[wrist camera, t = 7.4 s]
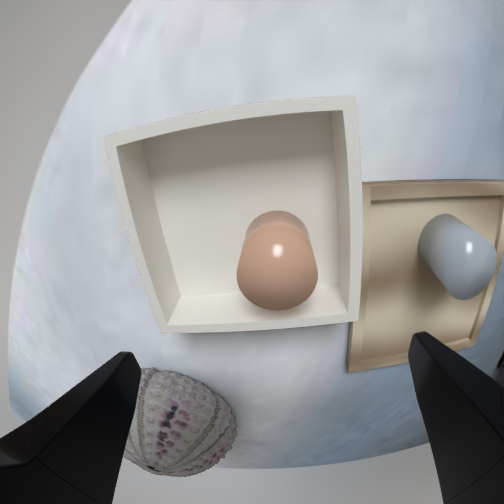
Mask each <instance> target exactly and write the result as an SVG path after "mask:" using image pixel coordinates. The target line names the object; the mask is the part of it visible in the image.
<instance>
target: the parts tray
mask: <svg viewBox="0 0 504 504" xmlns="http://www.w3.org/2000/svg"><path fill="white" fill-rule="evenodd" d="M362 203H363V244H362V275H361V293H360V307H359V319H358V321H352V322H350V328H349V340H348V351H347V361H346V364H347V369H348V372H355V371H362V370H368V369H374V368H380V367H386V366H391V365H396V364H402V363H406V362H409V360H408V350H409V347H410V343H411V339H412V336H413V334H414V333H417V332H422V331H426V332H428V333H429V334H431V335H432V336H433V337H435V338H436V339H438V340H439V341H441V342H442V343H443V344H445V345H446V346H448V347H449V348H451V349H452V350H453V351H457V350H460V349H464V348H467V347H471V346H474V345H475V343H476V340H477V338H478V335H479V332H480V330H481V327H482V324H483V322H484V319H485V316H486V313H487V310H488V307H489V304H490V301H491V298H492V294H493V291H494V287H495V284H496V280H497V276H498V273H499V269H500V264H501V260H502V256H503V251H504V180H485V179H431V180H396V181H375V182H362ZM440 214H451V215H453V216H455V217H456V218H458V219H459V220H461V221H462V222H463V223H465V224H466V225H468V226H469V227H470V228H472V229H473V230H474V231H476V232H477V233H479V234H480V235H481V236H482V237H484V238H485V239H486V240H488V241H489V242H490V243H491V244H492V245H493V246H494V248H495V250H496V253H497V265H496V269H495V272H494V275H493V277H492V279H491V281H490V282H489V284H488V285H487V286H486V288H485V289H484V290H483V291H482V292H481V293H479V294H478V295H477V296H475V297H473V298H471V299H468V300H458V299H456V298H454V297H453V296H452V295H451V294H450V293H449V291H448V290H447V289H446V288H445V286H444V285H443V284H442V283H441V281H440V280H439V279H438V278H437V277H436V275H435V274H434V273H433V272H432V271H431V269H430V268H429V267H428V266H427V265H426V264H425V262H424V261H423V260H422V259H421V257H420V254H419V251H418V242H419V237H420V234H421V232H422V230H423V228H424V227H425V225H426V224H427V223H428V222H429V221H430V220H431V219H432V218H434V217H435V216H437V215H440Z"/></svg>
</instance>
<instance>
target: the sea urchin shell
mask: <svg viewBox="0 0 504 504" xmlns="http://www.w3.org/2000/svg"><path fill="white" fill-rule="evenodd" d="M141 372H142V374H141V380H140V386H139V391H138V397H137V403H136V408H135V413H134V417H133V420H132V424H131V428H130V431H129V435H128V439H127V443H126V446H125V450H124V454H123V457H125V458H126V459H128V460H130V461H131V462H132V463H134V464H136V465H138V466H139V467H141V468H142V469H144V470H146V471H148V472H150V473H153V474H156V475H167V476H173V477H174V476H176V477H186V476H191V475H195V474H198V473H201V472H203V471H205V470H206V469H209V468H211V467H212V466H214V465H215V464H218V462H219V460H220V459H221V458H225V453H226V452H227V451H229V450H230V449H232V446H231V445H232V443H233V442H234V441H235V439H234V437H235V436H237V431H236V427H237V425H236V423H235V422H234V420H235V416H233V415H232V414H231V407H229V406H228V403H227V402H224V400H223V398H220V396H219V394H214V393H212V392H211V390H210V389H208V388H207V386H206V385H202V383H201V382H200V381H198V382H196V380H193V379H190V378H189V377H187V376H185V375H183V376H181V375H180V374H179V373H178V372H175V373H172V372H168V371H167V370H165V371H161V372H158V371H156V370H155V369H154V368H153V367H152V368H147V369H145V370H144V369H142V368H141Z"/></svg>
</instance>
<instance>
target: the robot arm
mask: <svg viewBox="0 0 504 504" xmlns="http://www.w3.org/2000/svg"><path fill="white" fill-rule="evenodd" d="M408 360H409V364H410V369H411V373H412V378H413V382H414V387H415V392H416V397H417V400H418V404H419V407H420V410H421V414H422V417H423V420H424V424H425V427H426V431H427V434H428V438H429V441H430V445H431V449H432V453H433V457H434V461H435V465H436V469H437V474H438V478H439V483H440V488H441V492H442V497H443V503H444V504H504V387H502V386H501V385H500V384H499V383H498V382H496V381H495V380H494V379H492V378H491V377H490V376H488V375H487V374H485V373H484V372H483V371H481V370H480V369H479V368H477V367H476V366H474V365H473V364H472V363H470V362H469V361H467V360H466V359H465V358H463V357H462V356H460V355H459V354H458V353H456V352H455V351H453V350H452V349H451V348H449V347H448V346H446V345H445V344H443V343H442V342H441V341H439V340H438V339H436V338H435V337H433V336H432V335H431V334H429V333H428V332H426V331H422V332H417V333H414V334H413V336H412V339H411V343H410V347H409V350H408ZM498 367H499V369H503V368H504V355H503V357H502V359H501V361H500V363H499V365H498ZM141 374H142V372H141V368H140V366H139V364H138V362H137V360H136V358H135V356H134V355H133V353H131V352H123V351H122V352H119V353H118V354H117V355H115V356H114V357H113V358H111V359H110V360H109V361H107V362H106V363H105V364H103V365H102V366H101V367H100V368H98V369H97V370H96V371H94V372H93V373H92V374H90V375H89V376H88V377H86V378H85V379H84V380H82V381H81V382H80V383H78V384H77V385H76V386H74V387H73V388H72V389H71V390H69V391H68V392H67V393H65V394H64V395H63V396H61V397H60V398H59V399H57V400H56V401H55V402H53V403H52V404H51V405H50V406H49V407H47V408H45V409H44V410H43V411H42V412H40V413H39V414H37V415H36V416H35V417H33V418H32V419H30V420H29V421H27V422H26V423H24V424H23V425H21V426H20V427H18V428H16V429H15V430H13V431H12V432H10V433H9V434H7V435H5V436H4V437H2V438H0V504H112V501H113V496H114V492H115V487H116V483H117V479H118V474H119V470H120V466H121V462H122V458H123V454H124V450H125V446H126V443H127V439H128V435H129V431H130V428H131V424H132V420H133V417H134V413H135V408H136V403H137V397H138V391H139V386H140V380H141Z"/></svg>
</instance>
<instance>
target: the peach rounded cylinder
mask: <svg viewBox="0 0 504 504" xmlns="http://www.w3.org/2000/svg"><path fill="white" fill-rule="evenodd" d="M236 277H237V283H238V286H239V289H240V291H241V292H242V294H243V295H244V296H245V297H246V298H247V299H248V300H249V301H250V302H251V303H253V304H254V305H256V306H258V307H261V308H264V309H268V310H287V309H291V308H293V307H296V306H298V305H300V304H301V303H303V302H304V301H305V300H307V299H308V298H309V297H310V296H311V294H312V293H313V291H314V289H315V287H316V284H317V280H318V269H317V265H316V261H315V257H314V253H313V249H312V246H311V242H310V238H309V234H308V231H307V228H306V226H305V225H304V223H303V222H302V221H301V220H300V219H299V218H298V217H296V216H295V215H293V214H291V213H289V212H285V211H269V212H266V213H263V214H261V215H259V216H258V217H256V218H255V219H254V220H253V221H252V222H251V224H250V225H249V227H248V229H247V231H246V235H245V239H244V243H243V247H242V251H241V255H240V259H239V263H238V267H237V275H236Z"/></svg>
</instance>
